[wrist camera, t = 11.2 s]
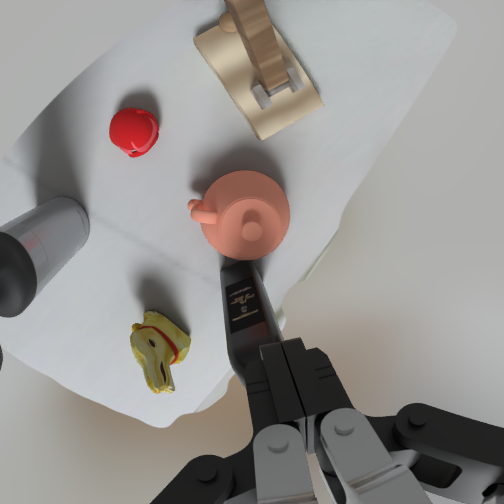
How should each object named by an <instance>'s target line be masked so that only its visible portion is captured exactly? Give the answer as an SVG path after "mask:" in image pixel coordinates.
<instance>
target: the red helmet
mask: <svg viewBox="0 0 504 504" xmlns="http://www.w3.org/2000/svg"><path fill="white" fill-rule="evenodd" d="M158 131H159V127H158V125H157V122H156V119H155V117H154V116H153V115H152V114H151V113H150V112H147V111H145V110H142V109H136V108H126V109H123V110H120V111H119V112H117V113H116V114H115V115H114V117H113V118H112V120H111V123H110V128H109V135H110V139H111V141H112V142H113V143H114V144H115V145H116V146H118V147H119V148H120V149H121V150H123V151H124V152H125V153H127V154H128V155H129V156H130V157H138V156H141V155H143V154H145V153H146V152H148V151H149V150H150V149H151V147H152V146H153V145H154V144H155V143H156V141H157V139H158V136H159V132H158ZM132 150H136V151H133V152H132Z"/></svg>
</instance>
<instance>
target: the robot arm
mask: <svg viewBox="0 0 504 504" xmlns="http://www.w3.org/2000/svg"><path fill="white" fill-rule="evenodd" d="M88 235H89V221H88V218H87V215H86V213H85V211H84V209H83V208H82V207H81V205H80V204H79V203H78V202H76V201H75V200H73V199H71V198H69V197H57V198H54V199H52V200H50V201H48V202H46V203H44V204H41V205H40V206H38V207H36V208H34V209H32V210H30V211H28V212H26V213H24V214H23V215H21V216H19V217H17V218H15V219H13V220H12V221H10V222H8V223H6V224H5V225H3V226H1V227H0V316H2V317H15V316H17V315H19V314H21V313H22V312H23V311H24V310H25V309H26V308H27V307H28V306H29V304H30V303H31V302H32V301H33V300H34V298H35V297H36V296H37V295H38V294H39V293H40V292H41V290H42V289H43V288H44V287H45V286H46V285H47V284H48V283H49V281H50V280H51V279H52V278H53V277H54V276H55V275H56V274H57V273H58V272H59V271H60V270H61V268H62V267H63V266H64V265H65V264H66V263H67V262H68V261H69V260H70V259H71V258H72V257H73V256H74V255H75V254H76V253H77V252H78V251H79V250H80V249H81V248H82V247H83V246H84V244H85V243H86V241H87V239H88ZM259 347H260V353H261V359H262V360H257V361H252V362H248V363H247V366H246V368H245V371H244V378H245V384H246V390H247V396H248V401H249V408H250V413H251V418H252V424H253V437H252V439H251V442H250V443H249V444H248V445H247V446H246V447H245V448H244V449H243V450H241V451H239V452H238V453H236V454H233V455H231V456H229V457H226V458H224V459H223V458H221V457H219V456H215V455H202V456H199V457H196V458H194V459H193V460H191V461H190V462H189V463H187V465H186V466H185V467H184V468H183V469H182V470H181V471H180V472H179V474H178V475H177V476H176V477H175V478H174V479H173V480H172V481H171V482H170V483H169V484H168V485H167V486H166V487H165V488H164V489H163V491H162V492H161V493H160V494H159V495H158V496H157V497H156V498H155V499H154V500H153V501H152V502H151V503H150V504H318V501H317V498H316V497H315V495H314V490H313V486H312V481H311V476H310V471H309V466H308V462H307V457H306V450H307V453H308V454H312V453H316V456H317V458H318V461H319V472H320V474H321V477H322V479H323V481H324V484H325V486H326V488H327V490H328V492H329V495H330V497H331V499H332V502H333V504H432V502H431V501H430V499H429V498H428V496H427V495H426V493H425V491H428V492H430V493H434V494H436V495H439V496H442V497H446V498H449V499H452V500H455V501H459V502H462V503H466V504H504V428H502V427H497V426H494V425H490V424H487V423H483V422H480V421H476V420H473V419H470V418H466V417H463V416H460V415H456V414H453V413H450V412H447V411H444V410H441V409H438V408H435V407H432V406H429V405H426V404H422V403H413V404H409V405H406V406H404V407H403V408H402V409H401V410H400V411H399V412H398V413H397V415H396V416H386V417H370V416H366V415H364V414H362V413H361V412H359V411H357V410H356V409H355V408H354V407H353V405H352V403H351V401H350V399H349V397H348V395H347V393H346V391H345V389H344V388H343V386H342V383H341V381H340V380H339V378H338V376H337V375H336V372H335V370H334V368H333V367H332V364H331V362H330V360H329V358H328V356H327V355H326V354H325V353H324V352H322V351H321V350H320V349H318V348H313V349H309V350H306V349H305V346H304V344H303V342H302V339H301V338H295V339H290V340H285V341H281V342H280V343H279V342H276V343H271V344H266V345H261V346H259ZM2 361H3V354H2V349H1V346H0V370H1V366H2ZM424 490H425V491H424Z"/></svg>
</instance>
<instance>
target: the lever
mask: <svg viewBox="0 0 504 504" xmlns="http://www.w3.org/2000/svg"><path fill="white" fill-rule="evenodd" d="M224 1H225V3H226V6H227V8H228V10H229V12H230V15H231V17H232V19H233V21H234V24H235V26H236V28H237V30H238V33H239V35H240V37H241V40H242V42H243V45H244V47H245V49H246V52H247V54H248V57H249V59H250V61H251V64H252V66H253V69H254V71H255V74H256V76H257V79H258V81H259V83H260V84H261V85H262V86H263V87H264V88H266V89H267V90H268V91H270V90H271V89H273V88H275V87H277V86H279V85H281V84H283V83H285V82H286V81H288V80H289V79H288V75H287V72H286V68H285V65H284V62H283V58H282V55H281V52H280V48H279V45H278V42H277V39H276V36H275V33H274V30H273V27H272V24H271V21H270V18H269V15H268V12H267V9H266V6H265V3H264V0H224Z"/></svg>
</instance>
